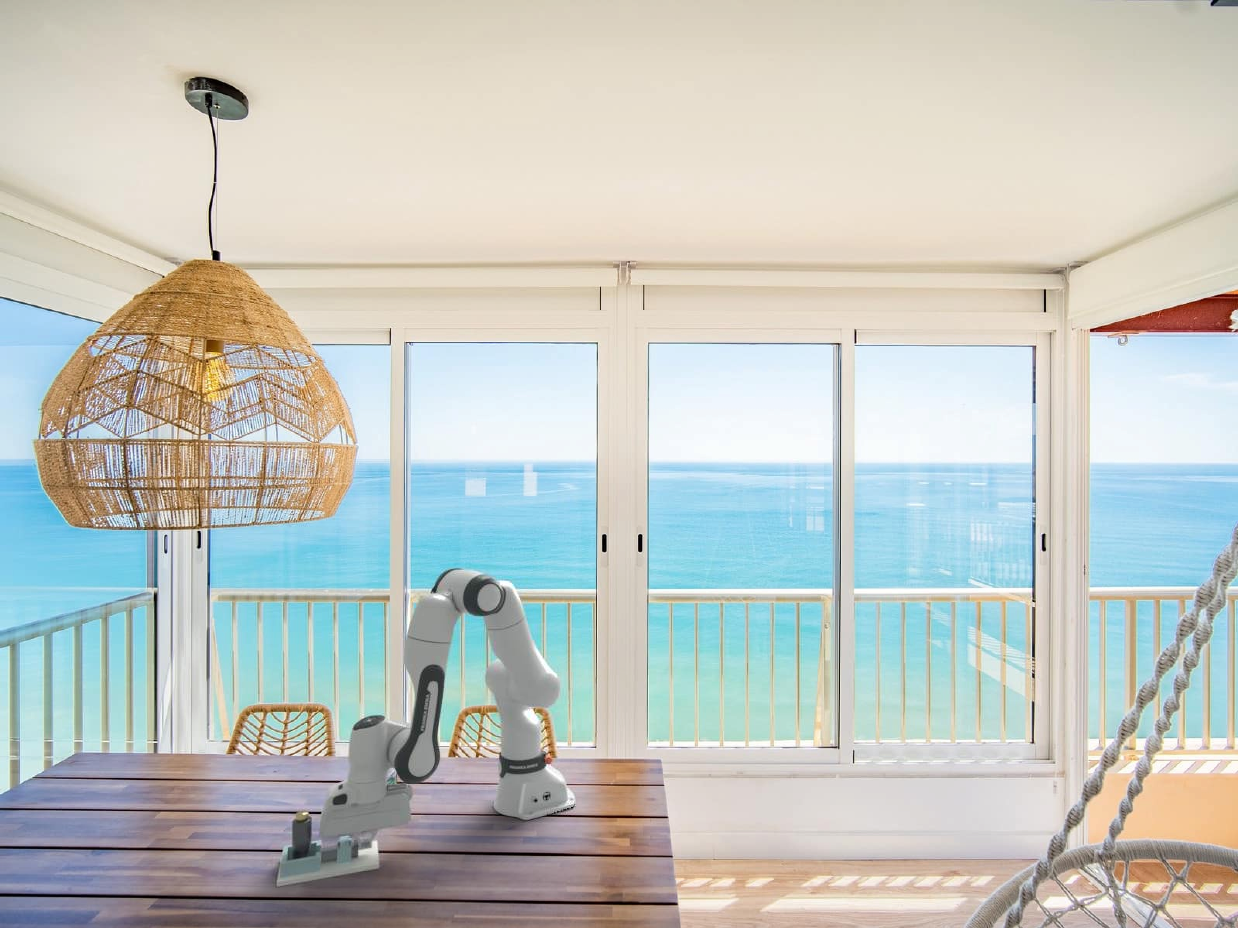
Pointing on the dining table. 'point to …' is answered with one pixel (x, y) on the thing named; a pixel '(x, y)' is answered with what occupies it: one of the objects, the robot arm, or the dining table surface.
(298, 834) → the dark grey gold-tipped cylinder
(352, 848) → the pin
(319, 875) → the dock
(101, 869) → the dining table surface
